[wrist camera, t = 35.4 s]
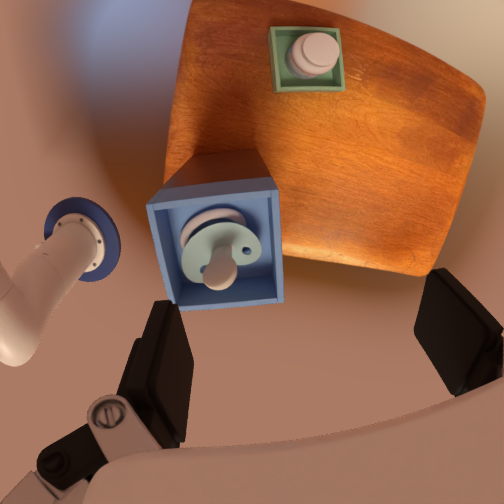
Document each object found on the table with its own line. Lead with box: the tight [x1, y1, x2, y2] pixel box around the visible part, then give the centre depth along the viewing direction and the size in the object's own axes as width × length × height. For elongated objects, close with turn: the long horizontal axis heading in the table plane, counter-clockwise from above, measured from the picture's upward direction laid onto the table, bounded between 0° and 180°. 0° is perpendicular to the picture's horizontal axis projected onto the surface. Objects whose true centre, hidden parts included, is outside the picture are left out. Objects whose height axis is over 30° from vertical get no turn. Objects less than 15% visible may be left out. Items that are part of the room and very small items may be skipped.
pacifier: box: [180, 208, 262, 290], centre depth 25 cm, size 7×6×6 cm
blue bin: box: [146, 149, 284, 311], centre depth 36 cm, size 10×10×27 cm
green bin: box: [267, 26, 345, 93], centre depth 38 cm, size 10×10×5 cm
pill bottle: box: [285, 33, 340, 79], centre depth 34 cm, size 6×6×11 cm
